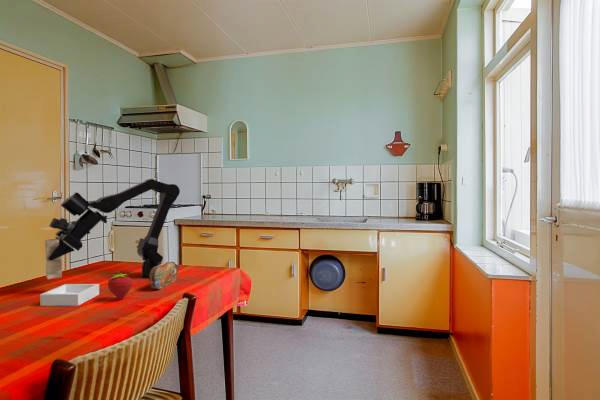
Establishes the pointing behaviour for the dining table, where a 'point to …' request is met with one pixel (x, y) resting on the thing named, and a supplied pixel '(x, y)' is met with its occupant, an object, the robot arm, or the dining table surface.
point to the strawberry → (120, 285)
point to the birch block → (54, 265)
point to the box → (69, 295)
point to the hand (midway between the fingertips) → (48, 258)
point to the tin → (163, 275)
